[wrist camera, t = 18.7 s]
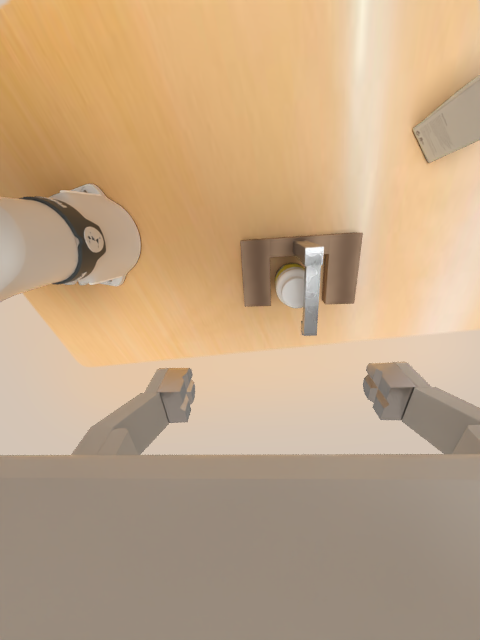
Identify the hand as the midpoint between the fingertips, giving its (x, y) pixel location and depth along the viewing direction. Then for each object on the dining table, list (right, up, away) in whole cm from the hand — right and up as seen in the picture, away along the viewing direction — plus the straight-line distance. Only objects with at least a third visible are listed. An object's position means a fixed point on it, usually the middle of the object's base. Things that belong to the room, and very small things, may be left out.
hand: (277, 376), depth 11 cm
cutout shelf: (+9, +12, +33) cm, 36 cm away
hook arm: (+9, +12, +33) cm, 36 cm away
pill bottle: (+8, +11, +34) cm, 36 cm away
